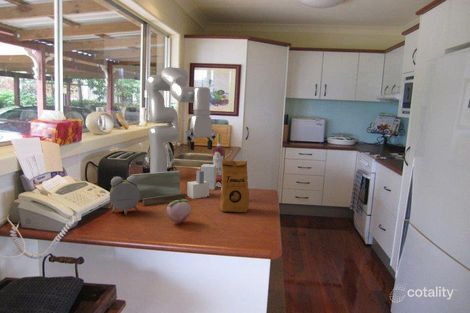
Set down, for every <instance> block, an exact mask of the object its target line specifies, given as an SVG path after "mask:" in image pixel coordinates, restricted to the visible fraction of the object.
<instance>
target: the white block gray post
mask: <svg viewBox="0 0 470 313" xmlns="http://www.w3.org/2000/svg"><path fill="white" fill-rule="evenodd" d="M195 176H196V178H195V179H196V180H195V181H187V183H186V184H187V188H186V195H187V196H186V197H188V198H191V199H194V200H195V199H199V198H201V197H202V198H207V196H209V197H210V190H209V182H206V181H204V171H202V170H201V169H200V170H196V175H195ZM202 198H201V199H202Z"/></svg>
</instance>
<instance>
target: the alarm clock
mask: <svg viewBox="0 0 470 313" xmlns="http://www.w3.org/2000/svg"><path fill="white" fill-rule="evenodd" d="M110 185H111V188H110V189H109V190H110V191H109V200H110V203H111V204H112V206H113V207H112V210H111V212H112V213H114V212H115V211H116V210H117V209H118V210H120V211H123V213H124V215H125V216H127V215H128V211H129V210H131V209H134V210H135V211H138V207H137V204H138V203H139V201H140V200H139V199H140V192H139V189H138V187H137V185H138V179H137V178H136V176H131V175H130V176H128V177H127V178H126V179H124V177H121V176H113V177H112V179H111V180H110Z"/></svg>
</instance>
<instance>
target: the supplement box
mask: <svg viewBox="0 0 470 313" xmlns="http://www.w3.org/2000/svg"><path fill="white" fill-rule="evenodd" d="M200 170H202V171H204V181H206V182H209V191H211V190H212V191H213V190H215V189H216V187H217V184H216V183H217V182H216V165H213V163H212V164H211V163H210V164H206V163H203V164H202V165H201V166H200Z"/></svg>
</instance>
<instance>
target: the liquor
mask: <svg viewBox="0 0 470 313" xmlns="http://www.w3.org/2000/svg"><path fill="white" fill-rule="evenodd" d="M222 137H223V134H222V133H217V135H216V138H217V142H216V147H214V148H212V164H213V165H216V183H222V169H223V168H222V160H225V159H226V149H225V148H224V147H223V145H222Z"/></svg>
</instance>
